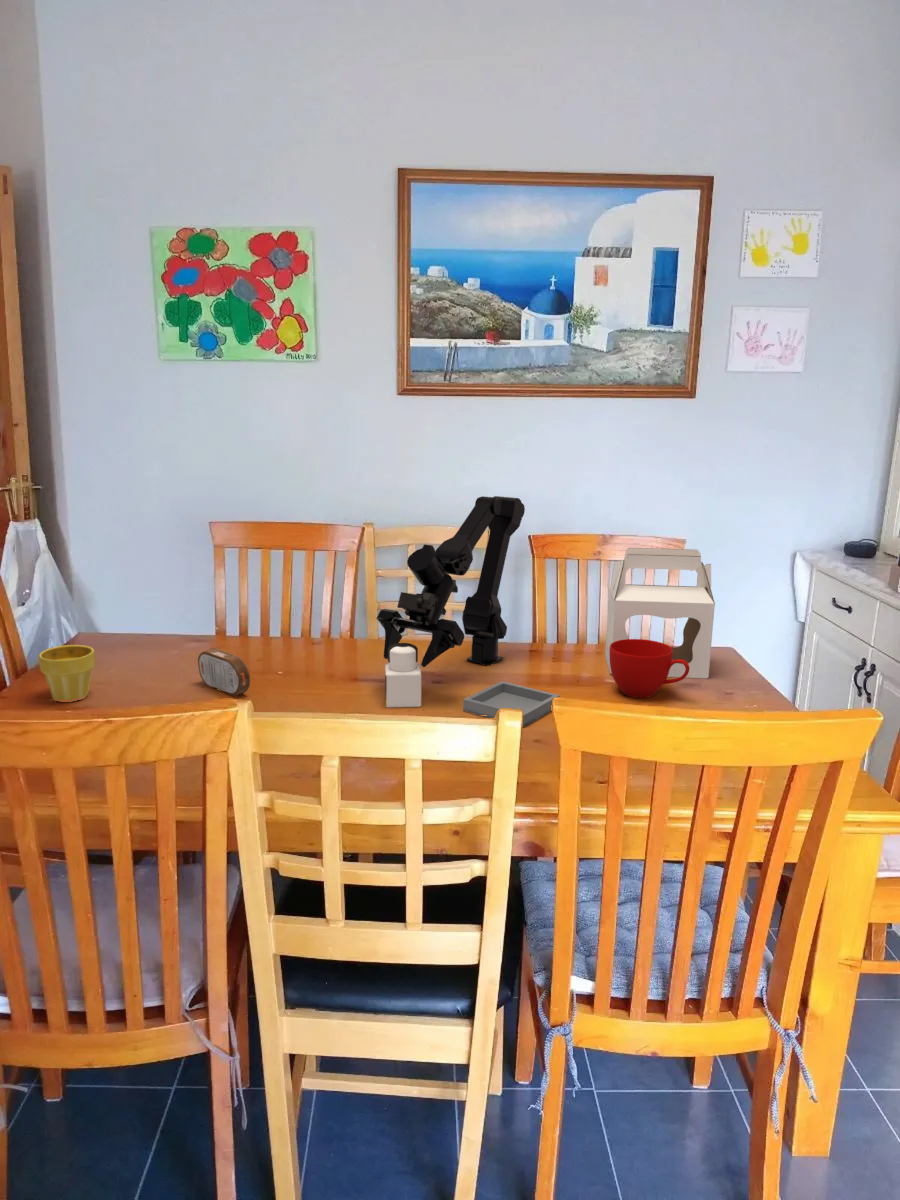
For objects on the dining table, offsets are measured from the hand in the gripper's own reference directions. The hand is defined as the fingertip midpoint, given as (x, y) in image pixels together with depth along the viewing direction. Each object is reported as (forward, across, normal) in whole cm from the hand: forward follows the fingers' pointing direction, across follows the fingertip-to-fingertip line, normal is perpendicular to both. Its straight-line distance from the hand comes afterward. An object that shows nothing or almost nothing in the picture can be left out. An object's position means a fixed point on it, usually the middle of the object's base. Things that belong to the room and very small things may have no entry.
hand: (403, 662), depth 178 cm
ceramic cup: (-17, +40, +29) cm, 52 cm away
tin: (+17, -36, -4) cm, 40 cm away
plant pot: (+31, -58, -19) cm, 69 cm away
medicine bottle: (+6, 0, +6) cm, 9 cm away
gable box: (-30, +35, +42) cm, 63 cm away
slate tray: (0, +20, +12) cm, 24 cm away
